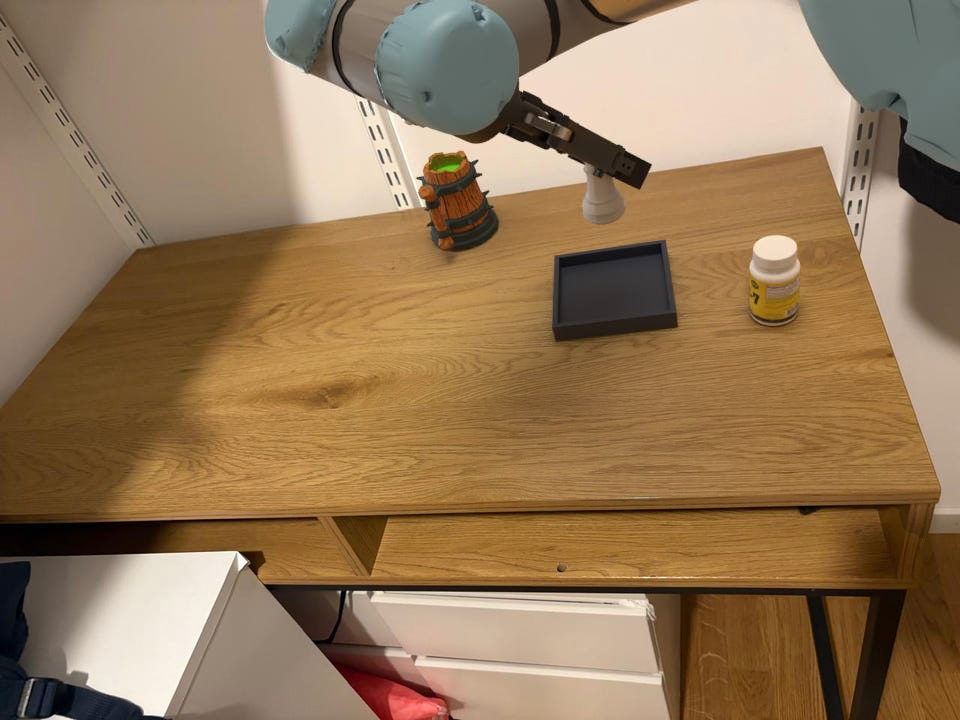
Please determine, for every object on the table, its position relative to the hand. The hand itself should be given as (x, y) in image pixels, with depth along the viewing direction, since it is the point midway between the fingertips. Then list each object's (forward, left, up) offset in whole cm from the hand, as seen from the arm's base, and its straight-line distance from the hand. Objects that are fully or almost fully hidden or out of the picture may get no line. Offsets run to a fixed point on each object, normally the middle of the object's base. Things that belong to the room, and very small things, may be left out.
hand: (629, 170), depth 76 cm
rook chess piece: (-2, +3, -3) cm, 5 cm away
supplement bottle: (-7, -13, -15) cm, 21 cm away
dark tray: (-1, +4, -15) cm, 15 cm away
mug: (+16, +24, -15) cm, 32 cm away
